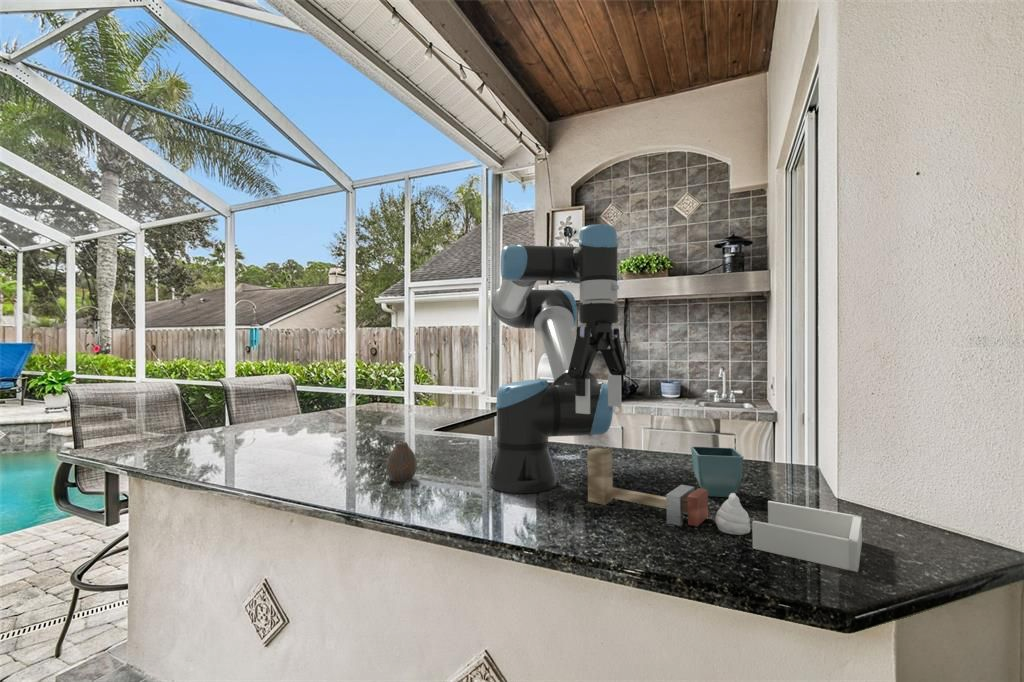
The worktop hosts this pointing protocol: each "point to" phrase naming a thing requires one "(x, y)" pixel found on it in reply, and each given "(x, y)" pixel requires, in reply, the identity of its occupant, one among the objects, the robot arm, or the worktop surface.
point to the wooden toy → (605, 492)
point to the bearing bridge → (677, 504)
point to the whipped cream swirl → (732, 517)
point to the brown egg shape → (401, 463)
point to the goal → (810, 535)
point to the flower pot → (717, 469)
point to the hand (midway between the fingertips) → (599, 409)
